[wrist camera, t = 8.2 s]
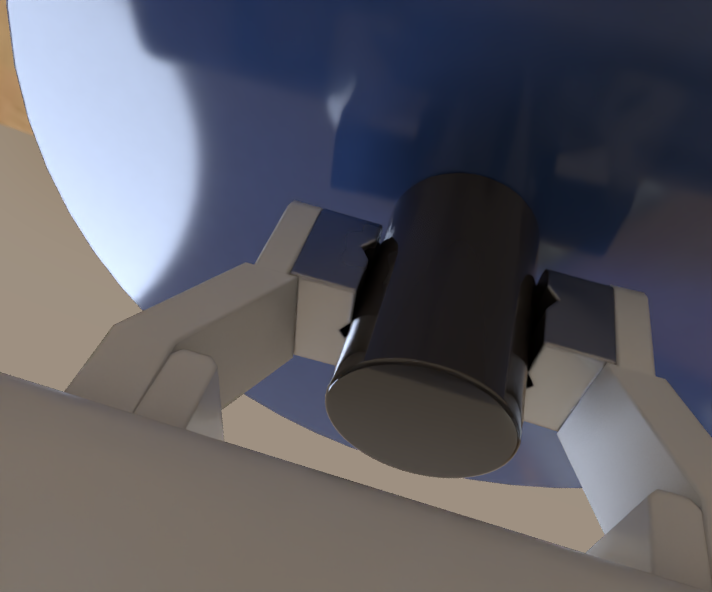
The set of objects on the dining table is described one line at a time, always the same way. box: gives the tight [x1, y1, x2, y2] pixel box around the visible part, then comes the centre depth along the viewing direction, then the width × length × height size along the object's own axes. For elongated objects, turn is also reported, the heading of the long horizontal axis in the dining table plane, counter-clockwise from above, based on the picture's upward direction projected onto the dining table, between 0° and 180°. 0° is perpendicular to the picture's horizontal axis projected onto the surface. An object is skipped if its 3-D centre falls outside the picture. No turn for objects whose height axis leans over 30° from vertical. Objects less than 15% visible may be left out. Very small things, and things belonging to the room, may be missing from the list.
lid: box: [6, 0, 712, 488], centre depth 10 cm, size 17×17×5 cm
